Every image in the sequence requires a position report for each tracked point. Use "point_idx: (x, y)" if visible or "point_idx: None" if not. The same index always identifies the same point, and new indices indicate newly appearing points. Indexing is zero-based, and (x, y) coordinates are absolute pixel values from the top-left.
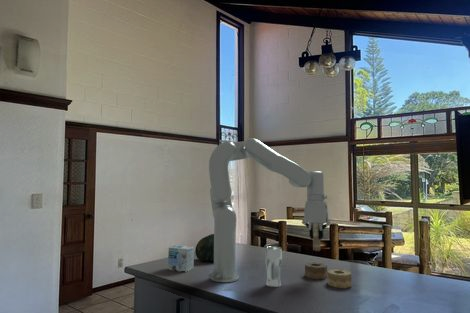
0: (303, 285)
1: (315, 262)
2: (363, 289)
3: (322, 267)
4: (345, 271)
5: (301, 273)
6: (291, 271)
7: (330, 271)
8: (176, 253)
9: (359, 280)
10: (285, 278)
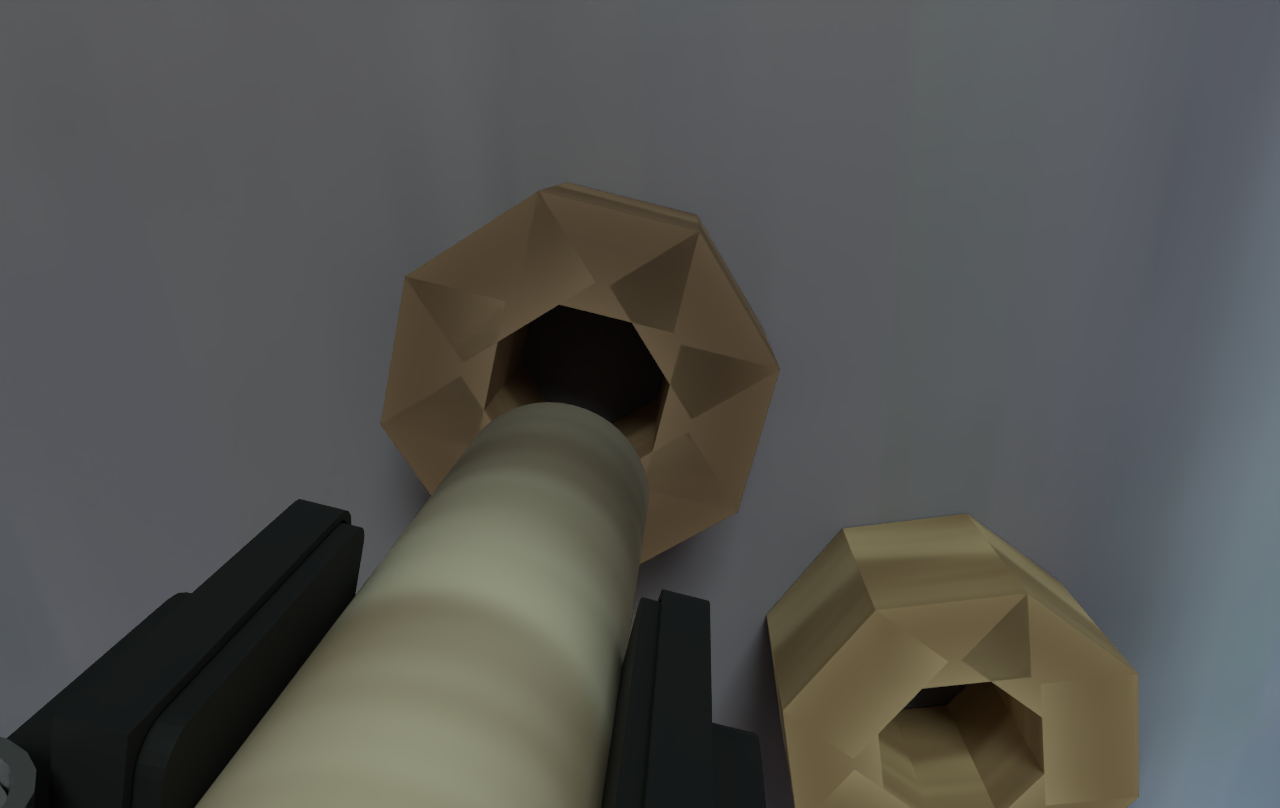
0: None
1: (550, 194)
2: (1190, 757)
3: (699, 530)
4: (1070, 688)
5: (362, 254)
6: (187, 180)
7: (828, 748)
8: None
9: (1238, 379)
10: None
